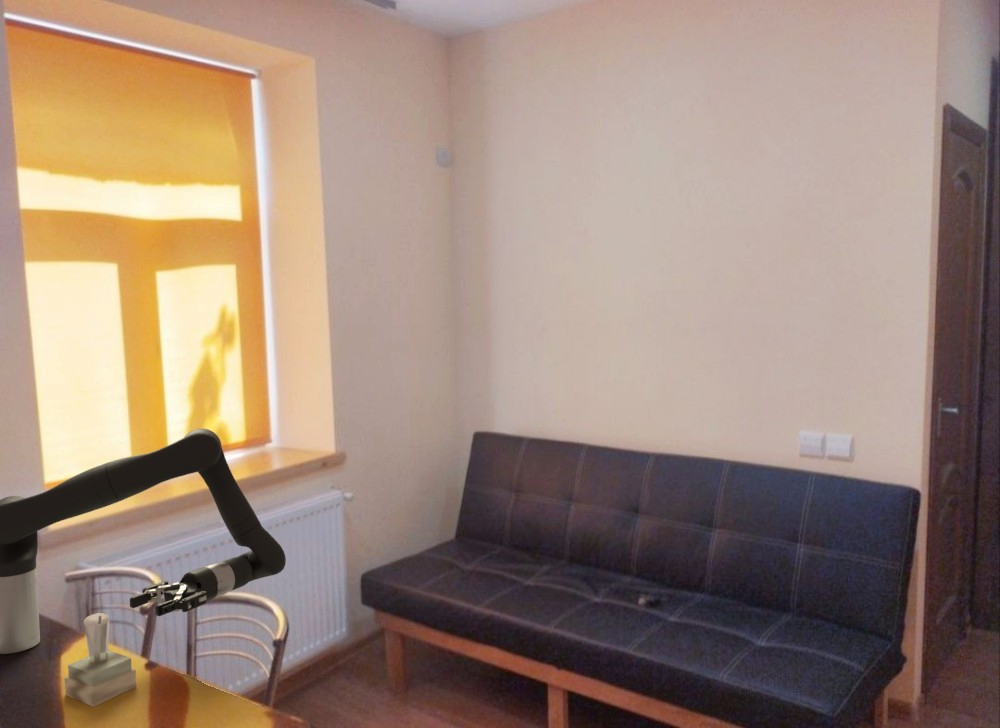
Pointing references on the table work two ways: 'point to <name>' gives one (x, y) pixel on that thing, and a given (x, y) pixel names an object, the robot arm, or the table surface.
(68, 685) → the tower base
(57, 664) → the table surface
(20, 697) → the table surface
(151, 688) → the table surface
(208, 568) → the robot arm
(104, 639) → the milkshake
